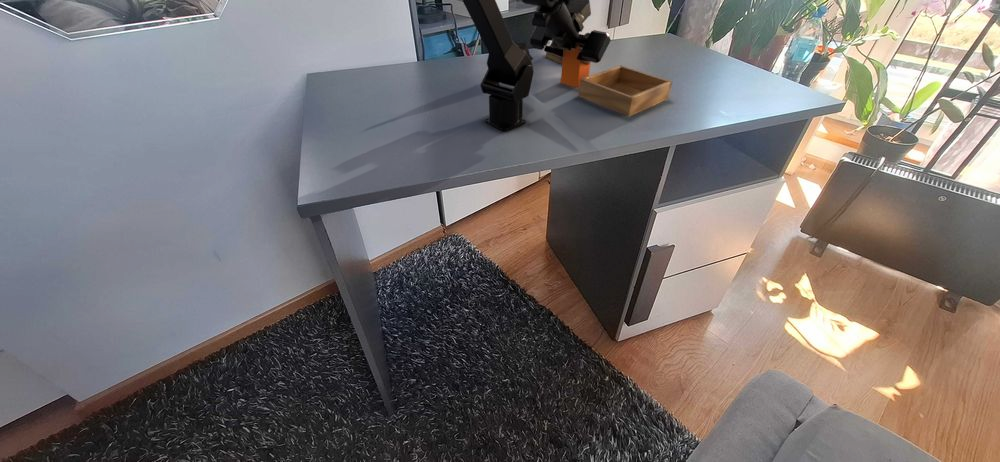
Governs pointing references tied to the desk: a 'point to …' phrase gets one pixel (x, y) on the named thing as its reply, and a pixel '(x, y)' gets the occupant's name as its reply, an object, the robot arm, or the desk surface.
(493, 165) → the desk surface
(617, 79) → the wooden box
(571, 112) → the desk surface
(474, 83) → the desk surface
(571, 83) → the orange square pillar
